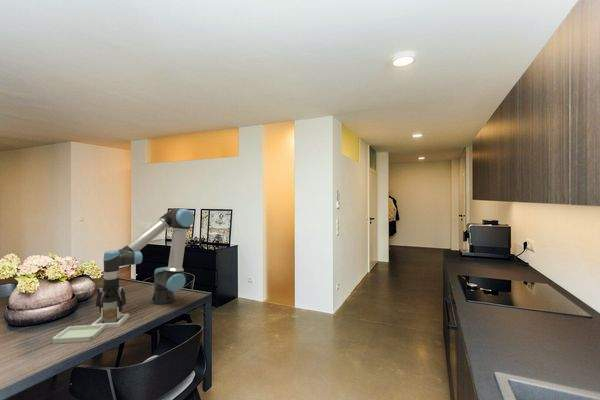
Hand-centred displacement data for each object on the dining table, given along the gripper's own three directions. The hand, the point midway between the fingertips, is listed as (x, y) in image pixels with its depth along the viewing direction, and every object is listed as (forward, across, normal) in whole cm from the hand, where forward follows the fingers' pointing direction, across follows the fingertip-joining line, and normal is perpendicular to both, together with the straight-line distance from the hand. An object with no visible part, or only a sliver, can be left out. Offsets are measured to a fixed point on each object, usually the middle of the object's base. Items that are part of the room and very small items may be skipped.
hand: (110, 317), depth 164 cm
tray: (+3, +8, +15) cm, 17 cm away
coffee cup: (+3, 0, 0) cm, 3 cm away
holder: (+3, 0, 0) cm, 3 cm away
